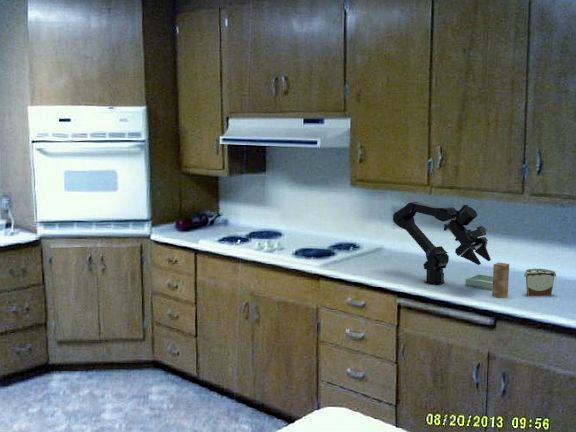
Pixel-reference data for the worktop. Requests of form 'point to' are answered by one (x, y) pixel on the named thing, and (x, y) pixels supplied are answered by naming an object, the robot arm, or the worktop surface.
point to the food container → (539, 282)
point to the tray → (480, 281)
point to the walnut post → (500, 280)
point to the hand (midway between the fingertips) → (485, 262)
